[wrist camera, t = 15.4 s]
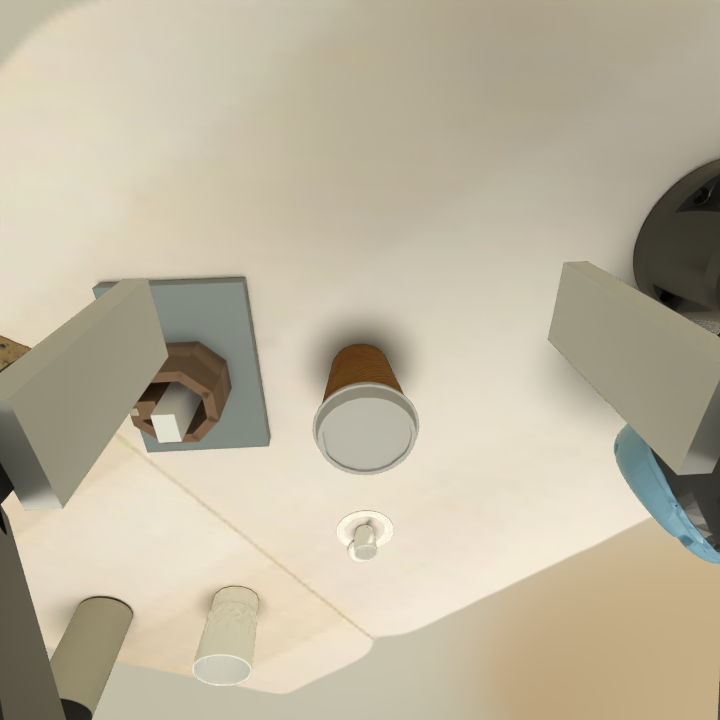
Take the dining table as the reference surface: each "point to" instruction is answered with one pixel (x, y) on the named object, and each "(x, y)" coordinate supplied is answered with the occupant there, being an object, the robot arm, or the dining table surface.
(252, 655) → the white cup
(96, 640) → the travel mug
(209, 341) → the shaft board
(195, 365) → the brown octagonal ring
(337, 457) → the disposable coffee cup
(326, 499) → the dining table surface
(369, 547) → the teacup and saucer
